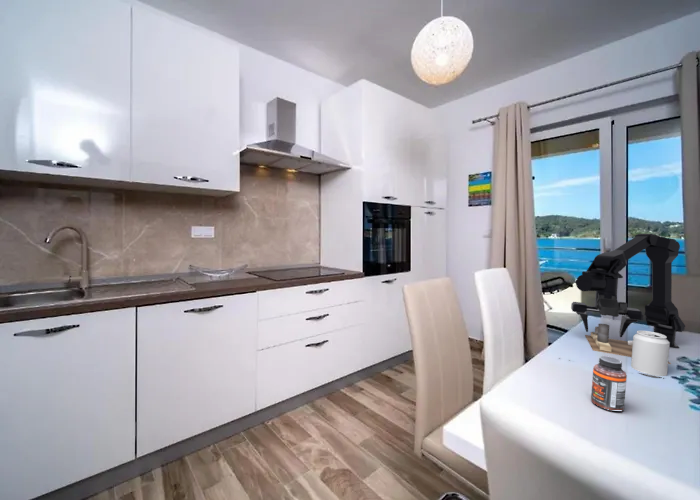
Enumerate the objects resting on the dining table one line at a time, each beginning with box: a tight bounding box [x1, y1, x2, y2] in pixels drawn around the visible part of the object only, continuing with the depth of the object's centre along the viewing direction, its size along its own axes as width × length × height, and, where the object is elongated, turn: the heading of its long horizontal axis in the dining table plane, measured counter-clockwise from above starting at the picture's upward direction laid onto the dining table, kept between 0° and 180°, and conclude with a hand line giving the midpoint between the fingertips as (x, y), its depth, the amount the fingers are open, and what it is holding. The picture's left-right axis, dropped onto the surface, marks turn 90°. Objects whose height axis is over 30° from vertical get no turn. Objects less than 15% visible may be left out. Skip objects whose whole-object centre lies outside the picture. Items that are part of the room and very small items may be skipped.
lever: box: [590, 323, 612, 352], centre depth 109 cm, size 18×4×8 cm, turn 148°
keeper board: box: [584, 334, 672, 365], centre depth 105 cm, size 19×19×5 cm
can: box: [630, 330, 670, 379], centre depth 88 cm, size 8×8×12 cm
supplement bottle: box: [590, 355, 628, 411], centre depth 70 cm, size 6×6×11 cm
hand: (603, 334), depth 106 cm, fingers open, 9 cm apart
